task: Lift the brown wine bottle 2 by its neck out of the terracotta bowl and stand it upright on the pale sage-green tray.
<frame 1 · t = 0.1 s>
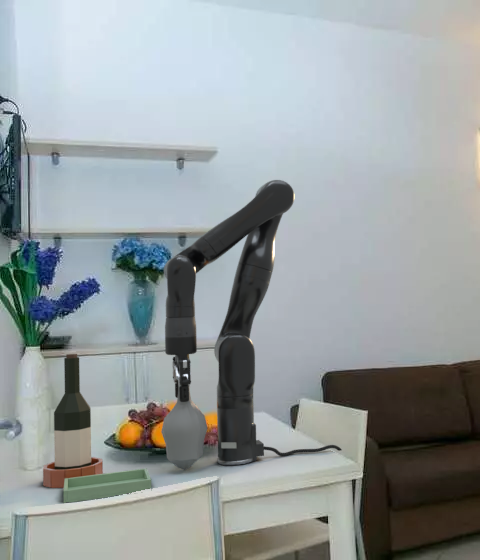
hand: (182, 399, 171), 17 cm above the table, tool pointing down, fingers open, 8 cm apart
wine bottle 2: (73, 481, 162), resting in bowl
bottle: (185, 470, 169), on the table
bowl: (73, 480, 162), on the table
tray: (107, 490, 152), on the table
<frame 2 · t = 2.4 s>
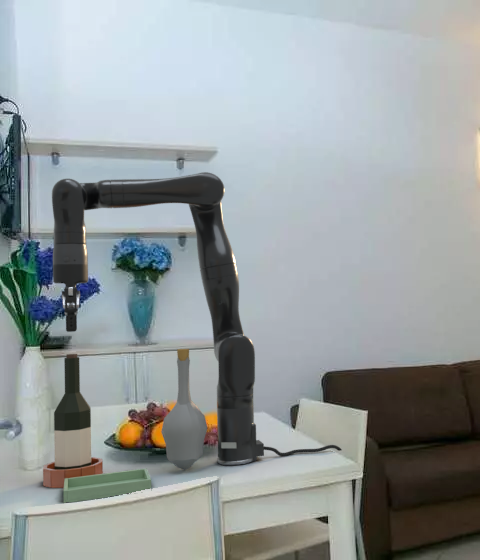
hand: (71, 331, 162), 36 cm above the table, tool pointing down, fingers open, 8 cm apart
nothing on the table moved.
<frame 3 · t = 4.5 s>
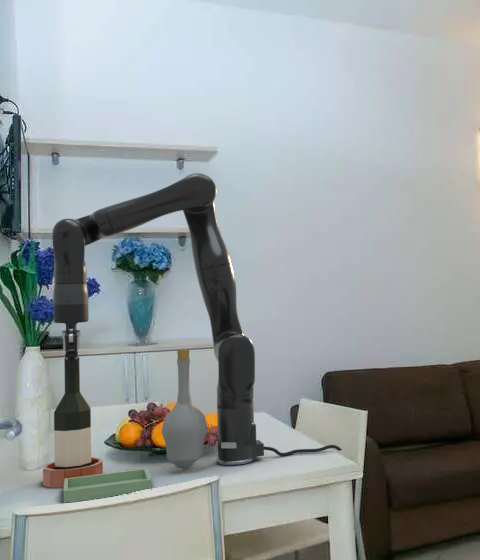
hand: (72, 374, 162), 25 cm above the table, tool pointing down, fingers closed on wine bottle 2, 3 cm apart
wine bottle 2: (73, 481, 162), resting in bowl, touching gripper
everything else where it was.
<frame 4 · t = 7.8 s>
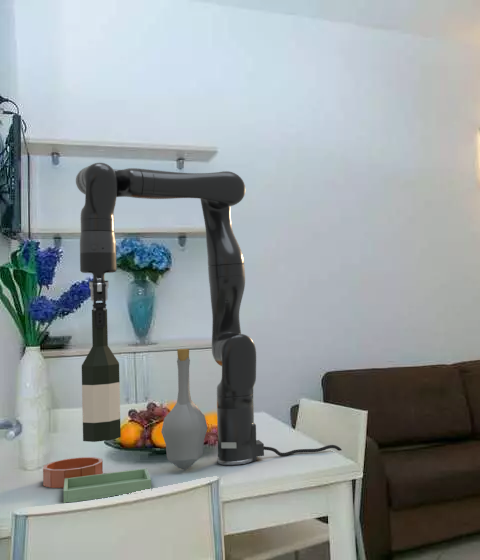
hand: (99, 327, 155), 37 cm above the table, tool pointing down, fingers closed on wine bottle 2, 3 cm apart
wine bottle 2: (102, 438, 154), point 11 cm above the table, touching gripper
everything else where it was.
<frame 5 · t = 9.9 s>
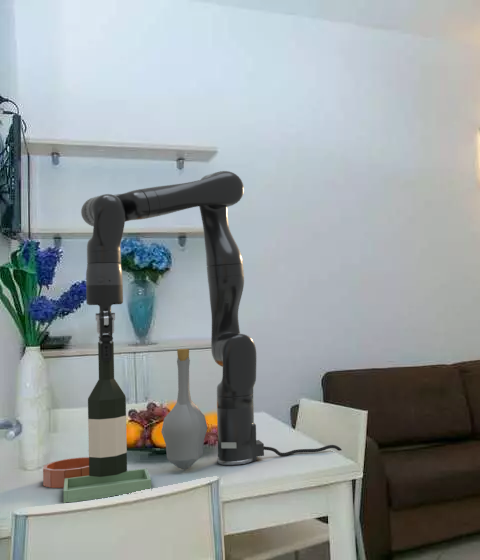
hand: (106, 359, 153), 29 cm above the table, tool pointing down, fingers closed on wine bottle 2, 3 cm apart
wine bottle 2: (108, 472, 152), point 4 cm above the table, touching gripper
everything else where it was.
when the fingers open (26 cm above the table, at t = 11.2 s): wine bottle 2 stays where it is, resting on tray.
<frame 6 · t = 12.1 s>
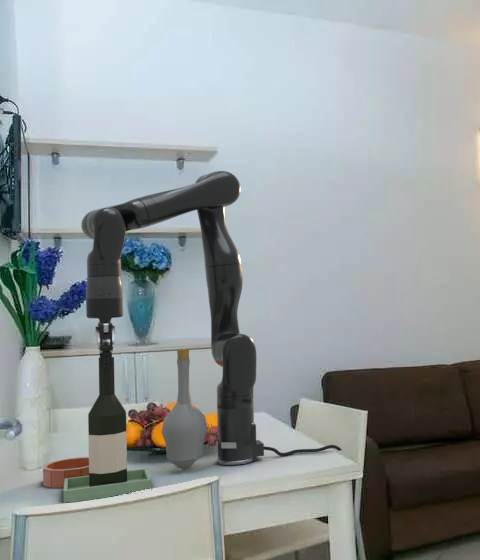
hand: (105, 368, 153), 27 cm above the table, tool pointing down, fingers open, 8 cm apart
wine bottle 2: (108, 488, 152), resting on tray
everything else where it was.
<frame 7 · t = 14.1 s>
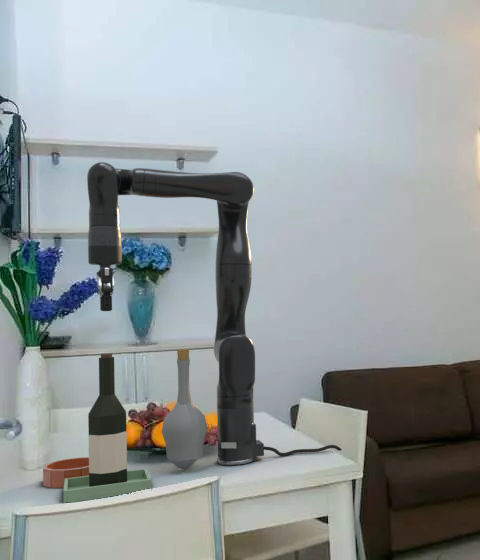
hand: (106, 311, 167), 40 cm above the table, tool pointing down, fingers open, 8 cm apart
nothing on the table moved.
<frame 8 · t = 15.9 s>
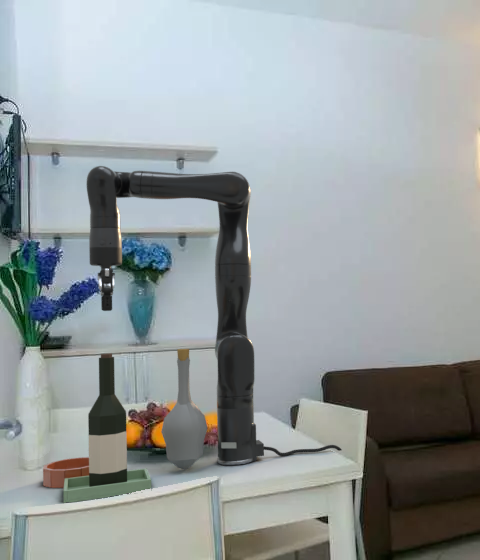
hand: (106, 310, 171), 40 cm above the table, tool pointing down, fingers open, 8 cm apart
nothing on the table moved.
at the end: wine bottle 2 inside the target area in the tray (0.1 cm from its centre), point 0.4 cm above the tray's base; wine bottle 2 tilted 0° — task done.
